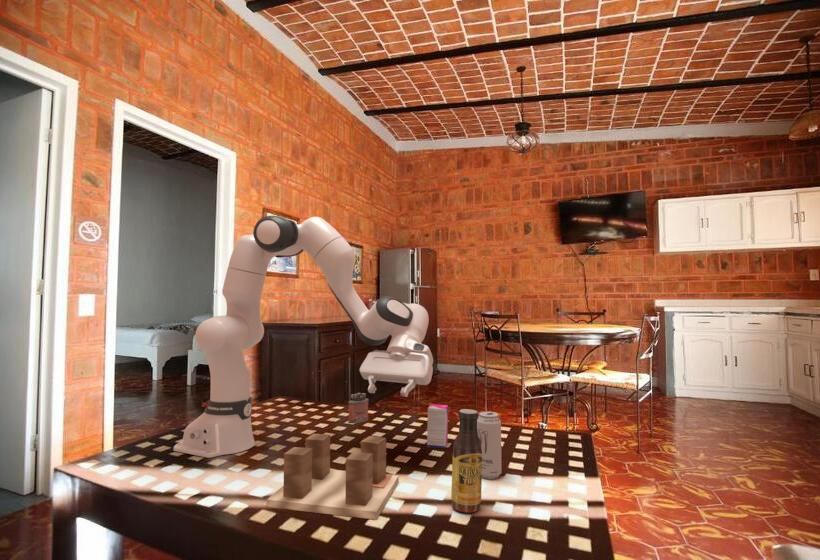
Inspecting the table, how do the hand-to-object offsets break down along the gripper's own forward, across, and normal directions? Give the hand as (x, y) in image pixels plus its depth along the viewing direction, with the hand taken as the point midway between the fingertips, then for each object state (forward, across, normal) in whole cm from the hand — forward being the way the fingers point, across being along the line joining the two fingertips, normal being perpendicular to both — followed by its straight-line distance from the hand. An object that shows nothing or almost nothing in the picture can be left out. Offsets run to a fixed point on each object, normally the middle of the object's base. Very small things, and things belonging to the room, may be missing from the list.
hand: (386, 393), depth 110 cm
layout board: (+26, -4, +2) cm, 26 cm away
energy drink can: (+9, +25, +18) cm, 32 cm away
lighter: (-12, -29, +40) cm, 50 cm away
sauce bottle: (+22, +25, +5) cm, 33 cm away
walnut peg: (+20, +2, +5) cm, 21 cm away
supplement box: (-3, +6, +30) cm, 31 cm away
